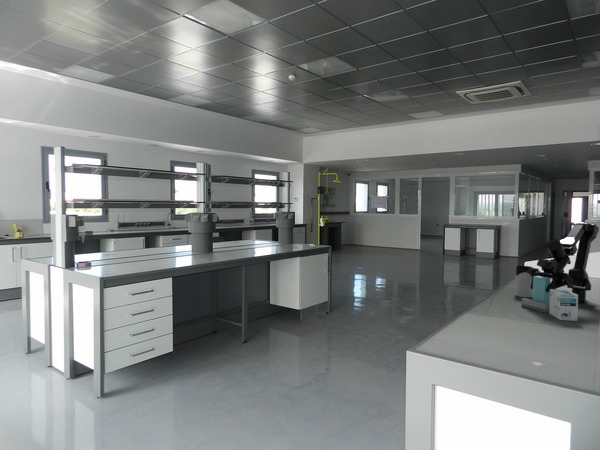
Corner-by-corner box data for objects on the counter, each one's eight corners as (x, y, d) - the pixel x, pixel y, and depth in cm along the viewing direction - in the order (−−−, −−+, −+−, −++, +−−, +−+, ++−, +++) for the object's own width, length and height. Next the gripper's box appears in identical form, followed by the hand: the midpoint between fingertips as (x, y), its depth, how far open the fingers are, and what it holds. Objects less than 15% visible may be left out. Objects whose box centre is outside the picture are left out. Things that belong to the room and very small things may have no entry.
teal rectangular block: (532, 304, 179) (533, 276, 179) (537, 304, 180) (538, 276, 180) (544, 307, 173) (545, 278, 173) (549, 307, 174) (550, 278, 174)
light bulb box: (578, 321, 157) (579, 294, 156) (559, 320, 158) (560, 293, 158) (565, 314, 167) (566, 289, 167) (548, 313, 168) (549, 288, 168)
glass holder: (515, 296, 203) (516, 267, 203) (511, 291, 216) (512, 264, 216) (534, 297, 200) (535, 268, 199) (530, 292, 213) (530, 264, 212)
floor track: (521, 306, 181) (521, 298, 181) (536, 305, 184) (536, 297, 184) (545, 312, 170) (545, 304, 170) (560, 311, 172) (560, 302, 172)
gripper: (530, 250, 186) (511, 274, 183) (568, 254, 168) (548, 281, 165) (542, 266, 189) (524, 290, 186) (581, 272, 171) (561, 299, 168)
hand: (538, 290), depth 176 cm, fingers open, 7 cm apart
